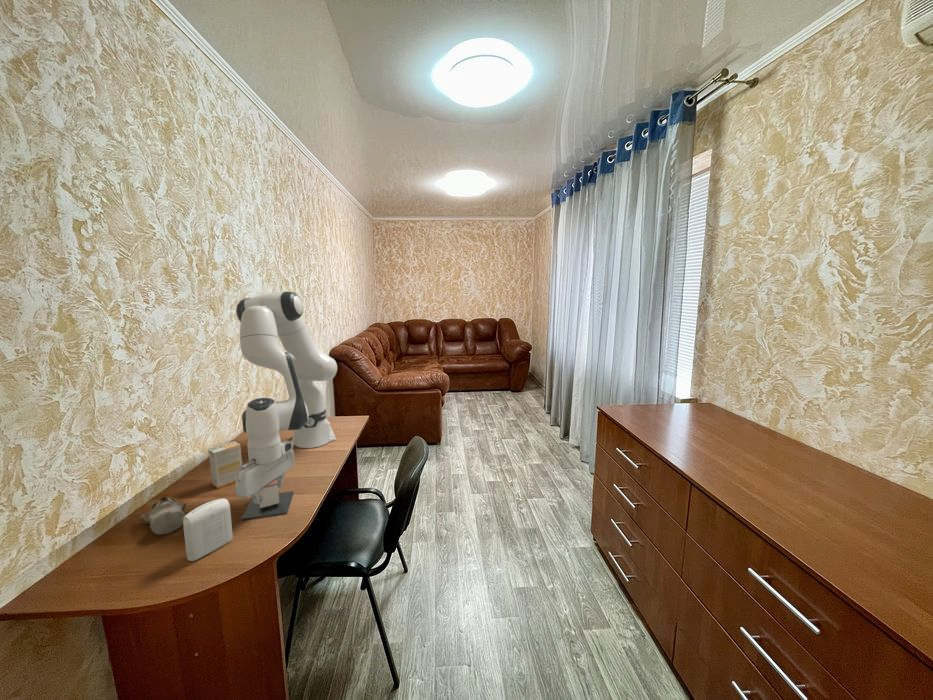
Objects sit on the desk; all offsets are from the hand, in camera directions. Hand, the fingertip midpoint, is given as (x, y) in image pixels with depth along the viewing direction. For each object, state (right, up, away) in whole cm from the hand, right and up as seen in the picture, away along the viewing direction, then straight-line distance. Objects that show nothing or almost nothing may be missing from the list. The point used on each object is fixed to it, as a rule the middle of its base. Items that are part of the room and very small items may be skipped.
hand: (268, 494), depth 112 cm
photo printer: (-5, -7, -18) cm, 20 cm away
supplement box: (-22, -1, +14) cm, 26 cm away
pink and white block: (0, -2, 0) cm, 2 cm away
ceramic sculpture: (-24, -5, -9) cm, 26 cm away
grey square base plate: (0, -4, +1) cm, 4 cm away
